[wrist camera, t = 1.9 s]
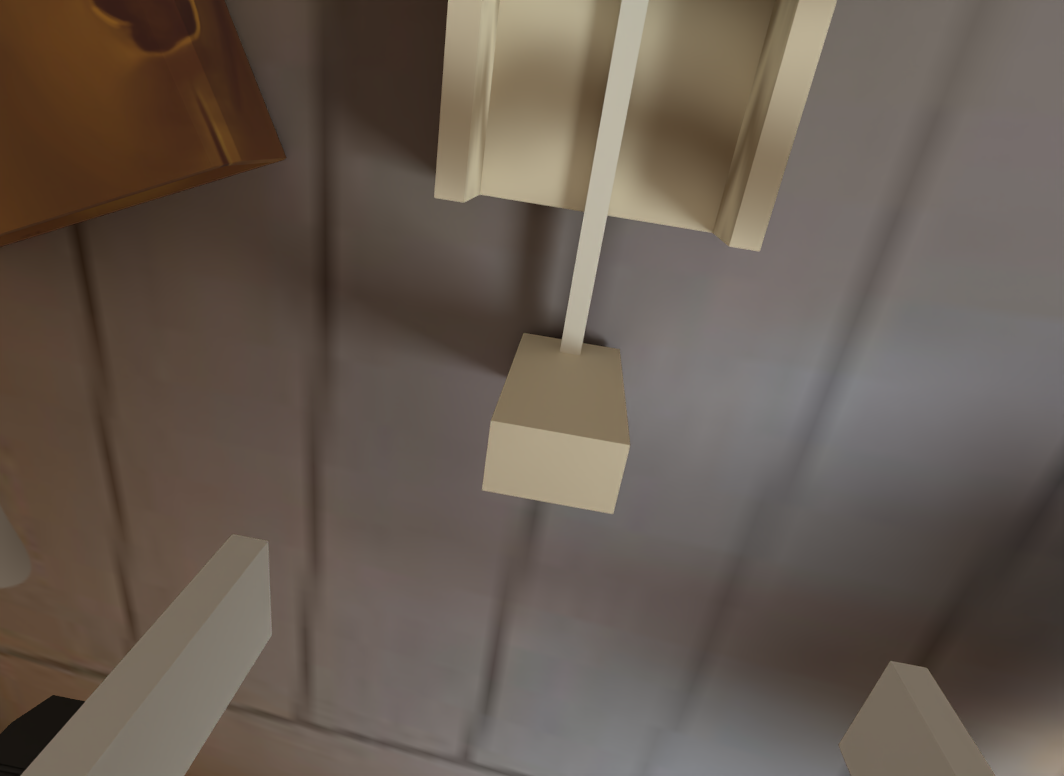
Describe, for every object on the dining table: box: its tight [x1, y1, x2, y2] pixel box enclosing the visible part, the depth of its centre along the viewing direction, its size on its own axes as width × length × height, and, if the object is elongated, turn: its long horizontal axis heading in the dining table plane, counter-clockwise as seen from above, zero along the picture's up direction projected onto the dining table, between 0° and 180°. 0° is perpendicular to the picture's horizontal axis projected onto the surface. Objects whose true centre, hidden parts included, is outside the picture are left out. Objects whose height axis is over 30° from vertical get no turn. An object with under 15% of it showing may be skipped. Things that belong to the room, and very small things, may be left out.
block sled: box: [482, 0, 649, 514], centre depth 20 cm, size 28×8×10 cm, turn 172°
